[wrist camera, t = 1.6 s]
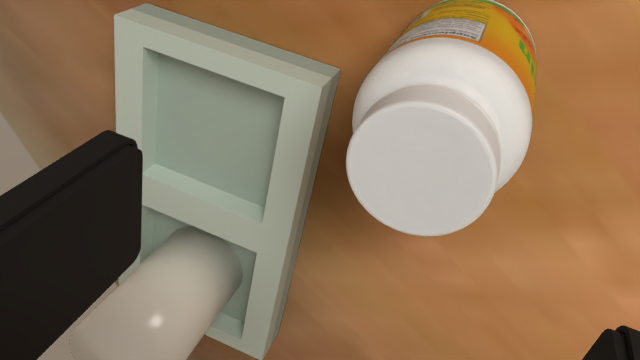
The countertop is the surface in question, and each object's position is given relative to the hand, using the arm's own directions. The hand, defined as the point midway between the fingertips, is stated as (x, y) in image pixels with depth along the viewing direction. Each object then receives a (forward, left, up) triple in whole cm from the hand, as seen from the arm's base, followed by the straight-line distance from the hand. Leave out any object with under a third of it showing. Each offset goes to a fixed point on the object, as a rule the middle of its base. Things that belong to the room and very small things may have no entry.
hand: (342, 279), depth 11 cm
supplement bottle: (-1, 0, -15) cm, 14 cm away
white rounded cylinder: (+9, +15, -13) cm, 22 cm away
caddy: (+9, +11, -14) cm, 20 cm away
